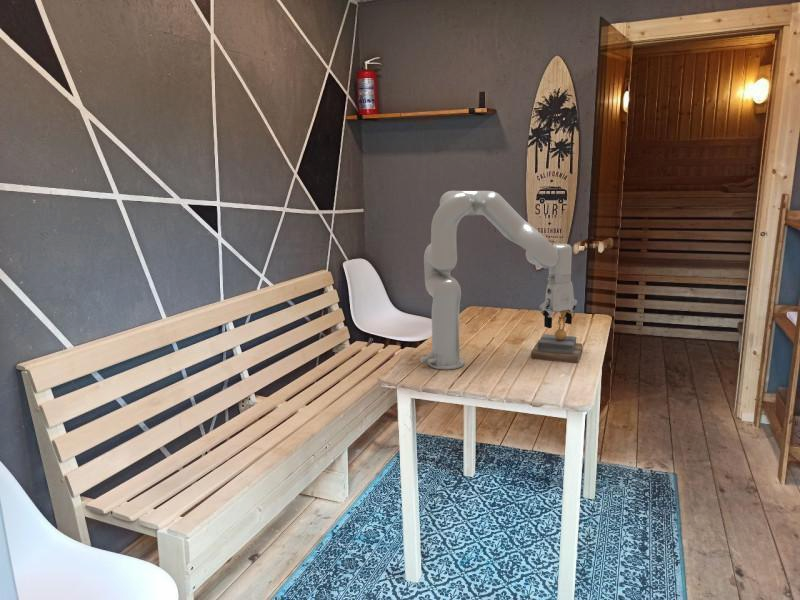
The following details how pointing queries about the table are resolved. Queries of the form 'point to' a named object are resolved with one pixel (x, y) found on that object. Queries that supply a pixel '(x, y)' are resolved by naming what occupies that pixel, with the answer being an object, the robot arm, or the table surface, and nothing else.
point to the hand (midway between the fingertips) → (557, 325)
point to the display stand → (557, 349)
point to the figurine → (560, 333)
